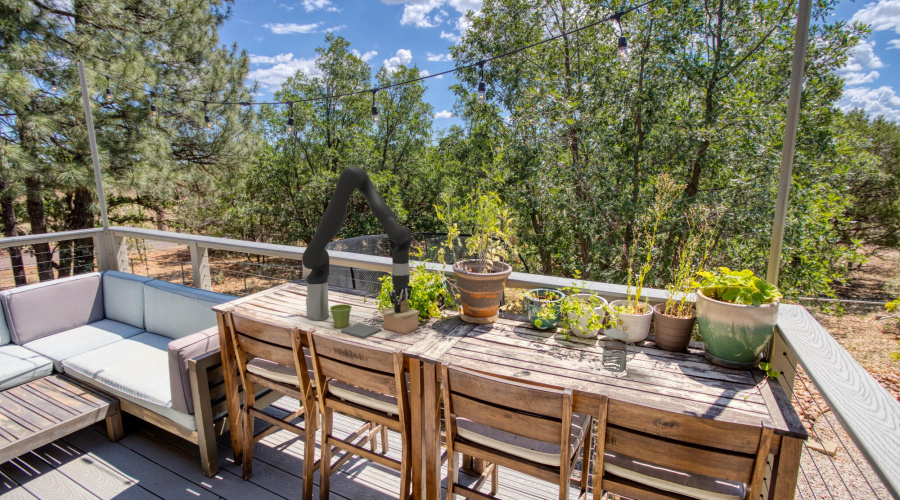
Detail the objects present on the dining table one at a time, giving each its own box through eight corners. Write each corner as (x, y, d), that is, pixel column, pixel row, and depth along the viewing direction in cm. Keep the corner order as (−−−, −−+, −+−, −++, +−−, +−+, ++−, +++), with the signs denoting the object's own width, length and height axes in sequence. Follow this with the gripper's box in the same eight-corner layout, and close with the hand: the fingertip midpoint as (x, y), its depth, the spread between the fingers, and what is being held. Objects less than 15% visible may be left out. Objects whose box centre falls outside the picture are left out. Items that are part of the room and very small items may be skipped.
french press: (604, 362, 154) (609, 296, 150) (637, 372, 147) (644, 303, 142) (594, 371, 146) (599, 302, 142) (628, 382, 139) (635, 309, 135)
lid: (381, 314, 182) (381, 300, 181) (396, 308, 190) (396, 295, 189) (405, 319, 175) (405, 305, 174) (419, 313, 184) (419, 299, 183)
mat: (341, 332, 179) (341, 330, 179) (359, 325, 188) (359, 322, 188) (363, 338, 172) (363, 336, 172) (381, 330, 181) (381, 328, 181)
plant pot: (339, 331, 180) (339, 312, 178) (326, 326, 185) (325, 307, 184) (356, 325, 187) (356, 307, 186) (343, 321, 193) (342, 303, 191)
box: (383, 329, 183) (383, 313, 182) (396, 323, 191) (396, 308, 190) (405, 334, 177) (405, 319, 176) (417, 328, 185) (417, 313, 184)
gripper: (403, 268, 188) (403, 305, 190) (383, 274, 176) (383, 313, 178) (417, 270, 184) (417, 308, 187) (397, 277, 172) (397, 317, 175)
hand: (400, 310), depth 183 cm, fingers closed on lid, 4 cm apart
